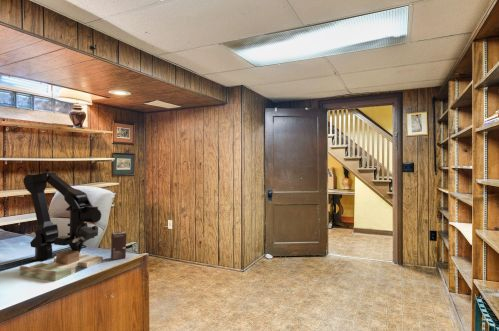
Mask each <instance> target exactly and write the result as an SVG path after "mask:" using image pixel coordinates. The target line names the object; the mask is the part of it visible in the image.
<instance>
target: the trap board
mask: <svg viewBox="0 0 499 331" xmlns="http://www.w3.org/2000/svg"><path fill="white" fill-rule="evenodd" d="M103 259H104V257H103V256H98V255H90V254H84V253H83V254H82V253H79V261H76V262H74V263H71V264H68V265H65V264H58V263H56V257H53V262H51V263H44V262H40V263H36V264H34V265H31V266H24V265H19V276H22V277H23V276H24V277H28V278H29V277H30V278H35V279H43V280H48V281H53V282H57V281H59V280H61V279H64V278H65V277H69V276H71V275H73V274H76V273H78V272H81V271H82V270H86V269H88V268H90V267H93V266H95V265H98V264H100V263H102V262H103V261H104V260H103Z"/></svg>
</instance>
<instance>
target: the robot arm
mask: <svg viewBox="0 0 499 331" xmlns="http://www.w3.org/2000/svg"><path fill="white" fill-rule="evenodd" d="M22 183H23V185H24V187H25V189H26V191H27V192H29V193H30V195H31V199H32V204H33V208H34V213H35V218H36V223H37V226H36V229H35V231H34V232H35V237H34V238H33V239H32V240H31V241H30V242H29V243H30V244H29V245H30V247H31V248H34V249H35V250H34V252H35V253H34V257H32V258H31V260H32V261H38V262H44V261H47V260H50V259H54V258H56V255H53V245H54V246H55V245H56V246H69V247H70V250H73V251H79V254H81V253H80V252H81V250H82V249H83V245H84V244H85V243H86V242H87V241H88V240H91V239H94V238H95V237H97V236H99V227H98V226H97V225H93V226H88V223H95V224H97V223H99V221H100V220H101V218H102V212H101V210H100V209H99V207H98V206H93V204H92V202H91V201H90V199H89V197H88V195H87V193H86V192H84V191H82V190H80V189H77V188H74V187H73V186H71V185H70V184H69V183H67V182H66V181H65V180H64V179H62V178H61V177H60V176H59V175H58V174H57V173H56V172H55V171H45V172H42V173H28V174H26V175H25V176H24V177H23V182H22ZM47 183H48V184H49V186H51V187H53V188H54V189H55V190H56V191H58V192H59V193H60V194H61V195H62V196H63V197H64V201H65V203H67V205H69V206H68V207H67V208H65V211H68V212H69V223H67V227H69V232H67V235H61V236H59V233H60V231H59V229H58V225H57V224H58V223H57V224H56V223H55V224H54V223H53V222H52V221H51V216H50V212H49V207H48V204H47V198H46V193H45V190H46V188H47V185H48V184H47Z"/></svg>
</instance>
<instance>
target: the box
mask: <svg viewBox="0 0 499 331" xmlns="http://www.w3.org/2000/svg"><path fill="white" fill-rule="evenodd" d="M110 236H111V239H110V240H111V242H110V243H111V244H110V259H111V260H112V261H113V260H121V258H122V259H126V258H127V257H126V252H127V232H126V231H125V230H124V231H112V232H111V235H110ZM125 257H126V258H125Z"/></svg>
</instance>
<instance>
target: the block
mask: <svg viewBox="0 0 499 331" xmlns="http://www.w3.org/2000/svg"><path fill="white" fill-rule="evenodd" d="M79 254H80V253H79V251H73V250H72V249H67V250H63V251H60V252H57V253H55V258H56V263H58V264H65V265H68V264H71V263H74V262H76V261H79Z"/></svg>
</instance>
